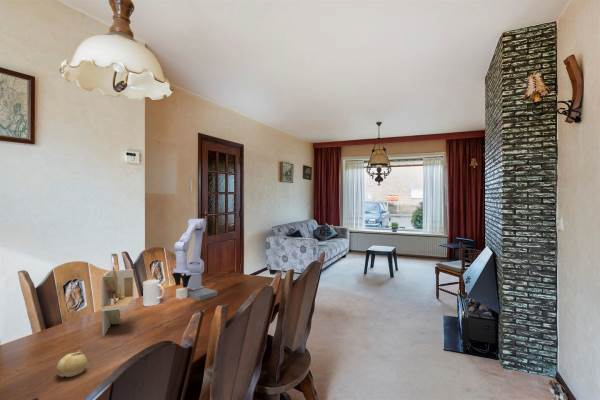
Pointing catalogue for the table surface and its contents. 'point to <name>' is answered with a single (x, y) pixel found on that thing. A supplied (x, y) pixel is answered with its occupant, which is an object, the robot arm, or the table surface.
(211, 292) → the plate
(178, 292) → the block
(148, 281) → the mug
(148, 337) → the table surface
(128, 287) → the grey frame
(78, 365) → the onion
